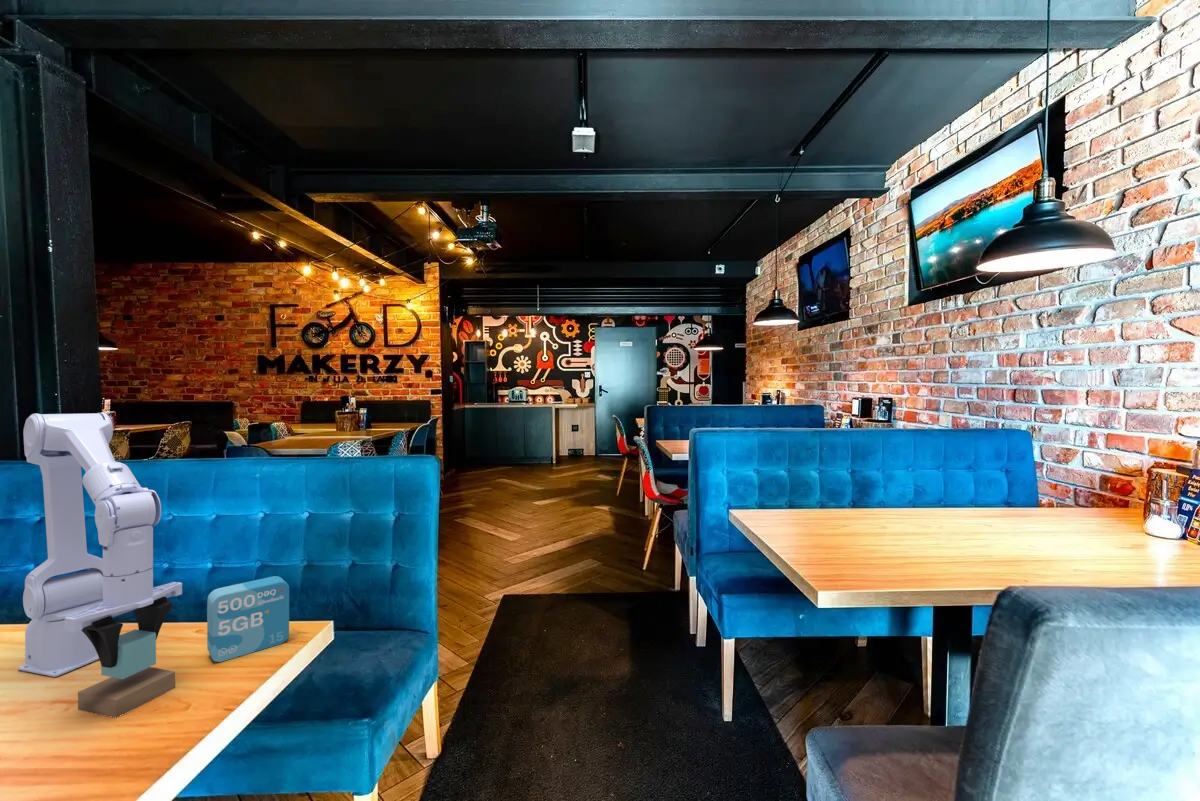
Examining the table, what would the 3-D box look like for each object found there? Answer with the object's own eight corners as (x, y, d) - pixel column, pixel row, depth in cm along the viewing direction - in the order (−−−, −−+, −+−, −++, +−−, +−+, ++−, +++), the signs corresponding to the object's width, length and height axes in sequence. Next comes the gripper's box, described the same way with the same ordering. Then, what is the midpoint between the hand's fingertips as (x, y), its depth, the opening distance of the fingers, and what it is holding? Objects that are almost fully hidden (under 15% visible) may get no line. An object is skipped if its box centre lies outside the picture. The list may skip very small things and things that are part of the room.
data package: (211, 665, 88) (211, 597, 88) (207, 656, 91) (207, 590, 91) (289, 641, 96) (289, 579, 96) (283, 634, 99) (283, 573, 99)
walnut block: (77, 712, 75) (77, 692, 75) (138, 683, 83) (138, 664, 83) (116, 720, 73) (116, 700, 73) (175, 690, 81) (175, 671, 81)
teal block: (101, 675, 76) (101, 642, 76) (135, 660, 81) (135, 629, 81) (122, 679, 75) (122, 646, 75) (156, 663, 80) (155, 632, 80)
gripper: (89, 590, 70) (89, 687, 70) (196, 558, 84) (195, 639, 84) (54, 585, 72) (54, 680, 72) (164, 555, 86) (164, 634, 86)
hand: (128, 657), depth 78 cm, fingers closed on teal block, 4 cm apart
